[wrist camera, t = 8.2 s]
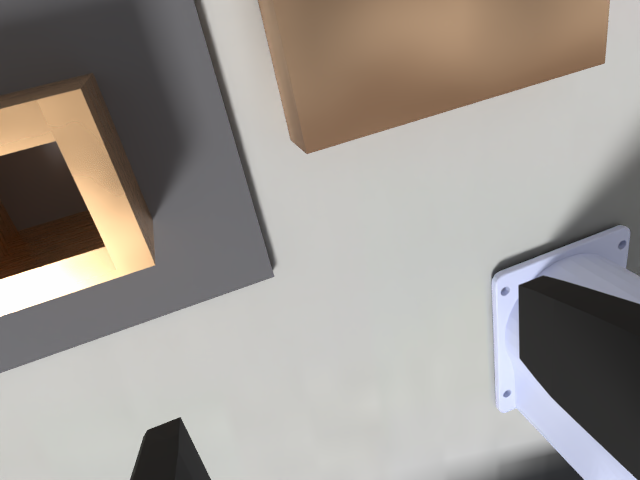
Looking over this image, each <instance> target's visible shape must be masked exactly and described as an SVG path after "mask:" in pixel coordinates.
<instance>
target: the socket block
mask: <svg viewBox="0 0 640 480" xmlns="http://www.w3.org/2000/svg"><path fill="white" fill-rule="evenodd" d="M258 3H259V7H260V11H261V15H262V20H263V24H264V28H265V32H266V37H267V41H268V45H269V49H270V54H271V58H272V62H273V67H274V71H275V75H276V79H277V84H278V88H279V92H280V96H281V101H282V105H283V109H284V113H285V118H286V122H287V126H288V130H289V135H290V139H291V141H292V142H294V143H295V144H296V145H297V146H298V147H299V148H301V149H302V150H303V151H304V152H305V153H306V154H308V153H312V152H315V151H318V150H322V149H325V148H328V147H331V146H335V145H338V144H341V143H344V142H348V141H351V140H354V139H358V138H361V137H364V136H367V135H371V134H374V133H377V132H381V131H384V130H387V129H390V128H394V127H397V126H400V125H404V124H407V123H410V122H413V121H417V120H420V119H423V118H427V117H430V116H433V115H436V114H440V113H443V112H446V111H450V110H453V109H456V108H459V107H463V106H466V105H469V104H473V103H476V102H479V101H482V100H486V99H489V98H492V97H495V96H499V95H502V94H505V93H509V92H512V91H515V90H518V89H522V88H525V87H528V86H532V85H535V84H538V83H541V82H545V81H548V80H551V79H555V78H558V77H561V76H564V75H568V74H571V73H574V72H578V71H581V70H584V69H587V68H591V67H594V66H597V65H601V64H604V63H605V54H606V42H607V29H608V16H609V4H610V0H258Z"/></svg>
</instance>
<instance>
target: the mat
mask: <svg viewBox="0 0 640 480" xmlns="http://www.w3.org/2000/svg"><path fill="white" fill-rule="evenodd" d="M90 73H93V74H94V77H95V79H96V82H97V84H98V87H99V89H100V91H101V94H102V96H103V99H104V101H105V104H106V106H107V109H108V111H109V114H110V116H111V119H112V121H113V123H114V126H115V128H116V131H117V133H118V136H119V138H120V141H121V143H122V146H123V148H124V150H125V153H126V155H127V158H128V160H129V163H130V165H131V168H132V170H133V173H134V175H135V178H136V180H137V182H138V185H139V187H140V190H141V192H142V195H143V197H144V200H145V202H146V205H147V207H148V210H149V212H150V214H151V217H152V219H153V233H154V249H155V265H154V266H151V267H148V268H145V269H142V270H139V271H136V272H133V273H130V274H127V275H124V276H121V277H118V278H115V279H112V280H109V281H106V282H103V283H100V284H97V285H94V286H91V287H88V288H84V289H81V290H78V291H75V292H72V293H69V294H66V295H63V296H60V297H57V298H54V299H51V300H48V301H45V302H42V303H39V304H36V305H33V306H30V307H27V308H24V309H21V310H18V311H15V312H12V313H8V314H5V315H2V316H0V373H2V372H4V371H7V370H10V369H13V368H16V367H19V366H22V365H24V364H27V363H30V362H33V361H36V360H39V359H41V358H44V357H47V356H50V355H53V354H56V353H58V352H61V351H64V350H67V349H70V348H73V347H76V346H78V345H81V344H84V343H87V342H90V341H93V340H95V339H98V338H101V337H104V336H107V335H110V334H113V333H115V332H118V331H121V330H124V329H127V328H130V327H132V326H135V325H138V324H141V323H144V322H147V321H149V320H152V319H155V318H158V317H161V316H164V315H167V314H169V313H172V312H175V311H178V310H181V309H184V308H186V307H189V306H192V305H195V304H198V303H201V302H204V301H206V300H209V299H212V298H215V297H218V296H221V295H223V294H226V293H229V292H232V291H235V290H238V289H240V288H243V287H246V286H249V285H252V284H255V283H258V282H260V281H263V280H266V279H269V278H272V277H274V274H273V270H272V267H271V263H270V260H269V257H268V253H267V250H266V246H265V243H264V239H263V236H262V233H261V229H260V226H259V222H258V219H257V215H256V212H255V209H254V205H253V202H252V198H251V195H250V191H249V188H248V185H247V181H246V178H245V174H244V171H243V167H242V164H241V161H240V157H239V154H238V150H237V147H236V144H235V140H234V137H233V133H232V130H231V126H230V123H229V120H228V116H227V113H226V109H225V106H224V102H223V99H222V96H221V92H220V89H219V85H218V82H217V78H216V75H215V72H214V68H213V65H212V61H211V58H210V54H209V51H208V48H207V44H206V41H205V37H204V34H203V31H202V27H201V24H200V20H199V17H198V13H197V10H196V7H195V3H194V0H0V95H4V94H9V93H13V92H17V91H21V90H25V89H29V88H33V87H37V86H41V85H45V84H49V83H53V82H57V81H61V80H65V79H69V78H74V77H78V76H82V75H86V74H90ZM0 201H1V202H2V204H3V206H4V208H5V209H6V211H7V213H8V215H9V217H10V218H11V220H12V222H13V224H14V225H15V227H16V229H17V231H20V230H23V229H27V228H30V227H33V226H37V225H40V224H43V223H47V222H50V221H53V220H57V219H60V218H63V217H67V216H70V215H73V214H77V213H80V212H83V211H87V210H88V208H87V206H86V204H85V201H84V199H83V197H82V195H81V193H80V191H79V189H78V187H77V184H76V182H75V180H74V178H73V176H72V174H71V172H70V170H69V168H68V165H67V163H66V161H65V159H64V157H63V155H62V153H61V151H60V148H59V146H58V144H57V142H56V141H54V142H50V143H46V144H43V145H39V146H35V147H31V148H28V149H24V150H20V151H17V152H13V153H9V154H5V155H2V156H0Z"/></svg>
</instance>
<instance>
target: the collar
mask: <svg viewBox="0 0 640 480" xmlns="http://www.w3.org/2000/svg"><path fill="white" fill-rule="evenodd" d="M54 141H56V142H57V144H58V146H59V148H60V151H61V153H62V155H63V157H64V159H65V161H66V163H67V165H68V168H69V170H70V172H71V174H72V176H73V178H74V180H75V182H76V184H77V187H78V189H79V191H80V193H81V195H82V197H83V199H84V201H85V204H86V206H87V208H88V210H87V211H83V212H80V213H77V214H73V215H70V216H67V217H63V218H60V219H57V220H53V221H50V222H47V223H43V224H40V225H37V226H33V227H30V228H27V229H23V230H20V231H17V229H16V227H15V225H14V224H13V222H12V220H11V218H10V217H9V215H8V213H7V211H6V209H5V208H4V206H3V204H2V202H1V201H0V316H2V315H5V314H8V313H12V312H15V311H18V310H21V309H24V308H27V307H30V306H33V305H36V304H39V303H42V302H45V301H48V300H51V299H54V298H57V297H60V296H63V295H66V294H69V293H72V292H75V291H78V290H81V289H84V288H88V287H91V286H94V285H97V284H100V283H103V282H106V281H109V280H112V279H115V278H118V277H121V276H124V275H127V274H130V273H133V272H136V271H139V270H142V269H145V268H148V267H151V266H154V265H155V249H154V233H153V219H152V217H151V214H150V212H149V210H148V207H147V205H146V202H145V200H144V197H143V195H142V192H141V190H140V187H139V185H138V182H137V180H136V178H135V175H134V173H133V170H132V168H131V165H130V163H129V160H128V158H127V155H126V153H125V150H124V148H123V146H122V143H121V141H120V138H119V136H118V133H117V131H116V128H115V126H114V123H113V121H112V119H111V116H110V114H109V111H108V109H107V106H106V104H105V101H104V99H103V96H102V94H101V91H100V89H99V87H98V84H97V82H96V79H95V77H94V74H93V73H90V74H86V75H82V76H78V77H74V78H69V79H65V80H61V81H57V82H53V83H49V84H45V85H41V86H37V87H33V88H29V89H25V90H21V91H17V92H13V93H9V94H4V95H0V156H2V155H5V154H9V153H13V152H17V151H20V150H24V149H28V148H31V147H35V146H39V145H43V144H46V143H50V142H54Z"/></svg>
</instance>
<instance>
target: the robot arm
mask: <svg viewBox="0 0 640 480" xmlns="http://www.w3.org/2000/svg"><path fill="white" fill-rule="evenodd" d="M629 241H630V229H629V228H628V227H626V226H623V225H618V226H615V227H613V228H610V229H608V230H605V231H602V232H600V233H597V234H595V235H592V236H589V237H587V238H584V239H582V240H579V241H576V242H574V243H571V244H569V245H566V246H564V247H561V248H558V249H556V250H553V251H551V252H548V253H545V254H543V255H540V256H538V257H535V258H532V259H530V260H527V261H525V262H522V263H519V264H517V265H514V266H512V267H509V268H506V269H504V270H501V271H499V272H498V273H496V274H495V275H494V277H493V279H492V306H493V335H494V364H495V392H496V407H497V408H498V410H499V411H500V412H502V413H505V412H508V411H511V410H513V409H515V408H517V409H518V410H519V411H520V412H521V413H522V414H523V415H524V416H525V418H526V419H527V420H528V421H529V422H530V423H531V424H532V425H533V426H534V427H535V428H536V429H537V430H538V431H539V432H540V433H541V434H542V435H543V437H544V438H545V439H546V440H547V441H548V442H549V443H550V444H551V445H552V446H553V447H554V448H555V449H556V450H557V451H558V452H559V453H560V454H561V456H562V457H563V458H564V459H565V460H566V461H567V462H568V463H569V464H570V465H571V466H572V467H573V468H574V469H575V470H576V471H577V472H578V473H579V475H580V476H581V477H582V478H583V479H584V480H640V276H638V275H637V274H635V273H633V272H631V271H629V270H627V269H626V265H627V257H628V249H629ZM503 288H504V289H503ZM502 289H503V290H502ZM501 290H502V291H501ZM130 480H211V479H210V477H209V475H208V473H207V471H206V469H205V467H204V465H203V462H202V460H201V458H200V456H199V454H198V452H197V450H196V448H195V446H194V444H193V442H192V440H191V438H190V436H189V434H188V432H187V430H186V428H185V426H184V423H183V421H182V419H181V417H180V418H177V419H175V420H172V421H169V422H167V423H164V424H162V425H159V426H157V427H154V428H152V429H149V430H147V432H146V433H145V435H144V437H143V440H142V443H141V447H140V450H139V453H138V457H137V460H136V463H135V466H134V469H133V472H132V476H131V479H130Z"/></svg>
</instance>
